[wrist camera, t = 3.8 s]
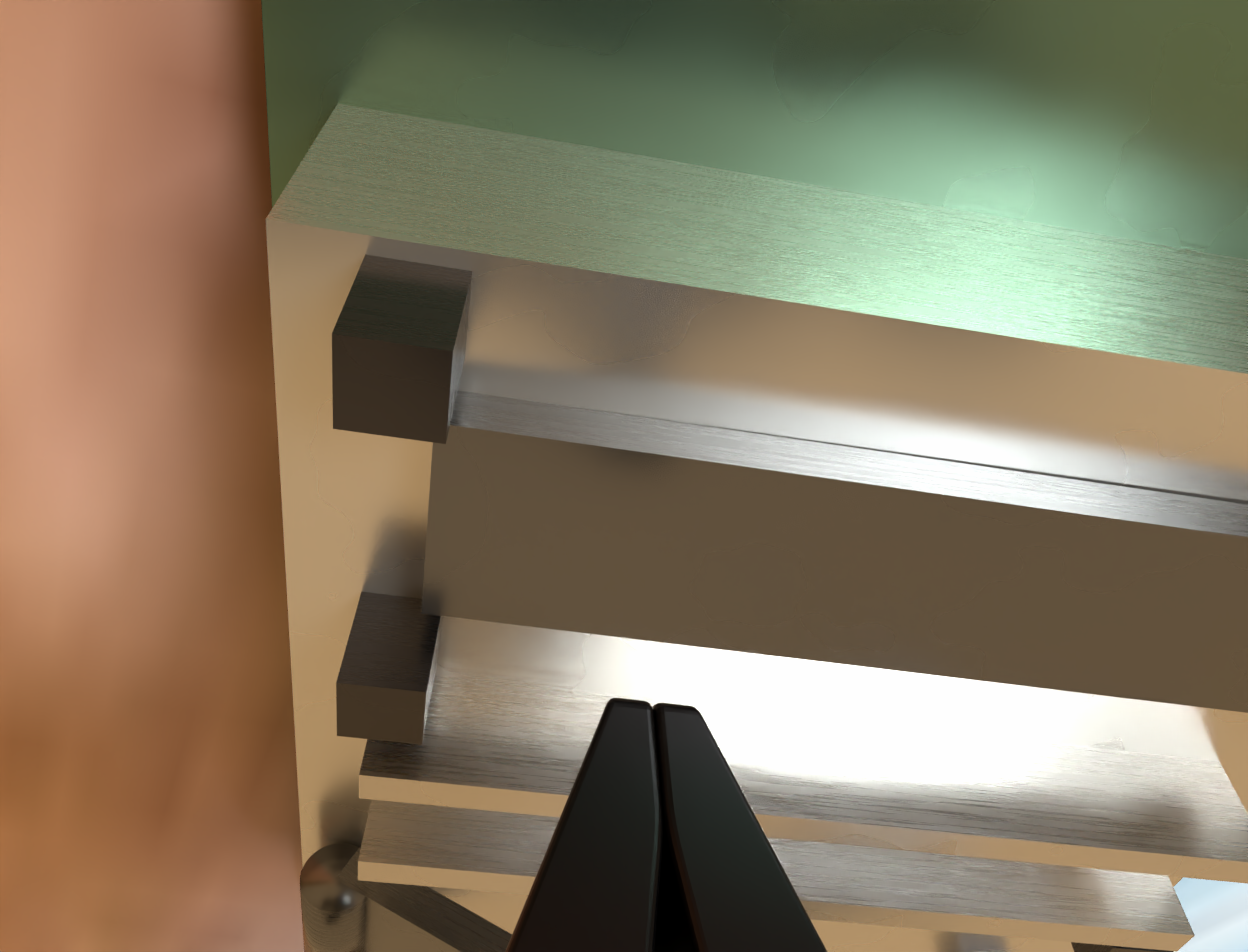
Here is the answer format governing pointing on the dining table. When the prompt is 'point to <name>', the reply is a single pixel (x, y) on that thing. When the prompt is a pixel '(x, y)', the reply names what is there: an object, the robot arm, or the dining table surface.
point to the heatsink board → (759, 409)
